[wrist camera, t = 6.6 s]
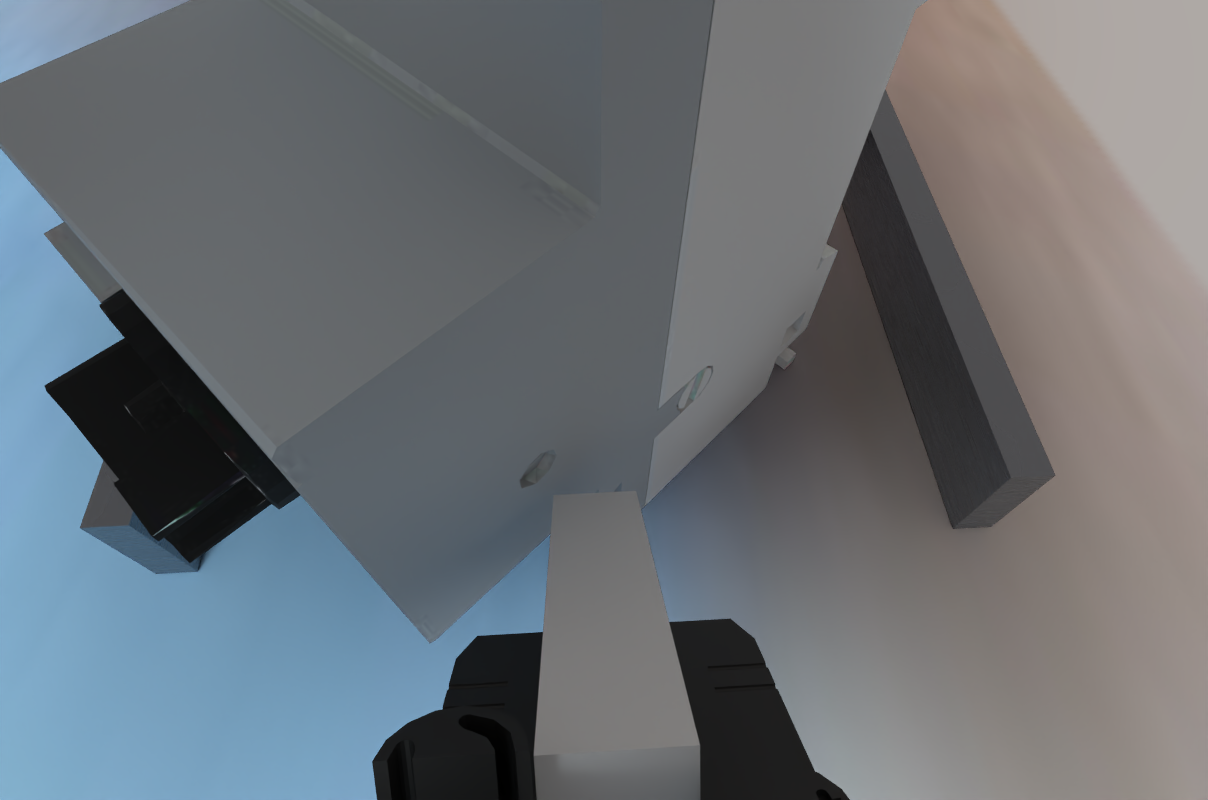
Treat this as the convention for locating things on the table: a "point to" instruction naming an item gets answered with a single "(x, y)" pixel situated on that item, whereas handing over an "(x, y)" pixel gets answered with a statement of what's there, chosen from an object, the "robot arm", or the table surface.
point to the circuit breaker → (440, 253)
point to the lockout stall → (916, 334)
